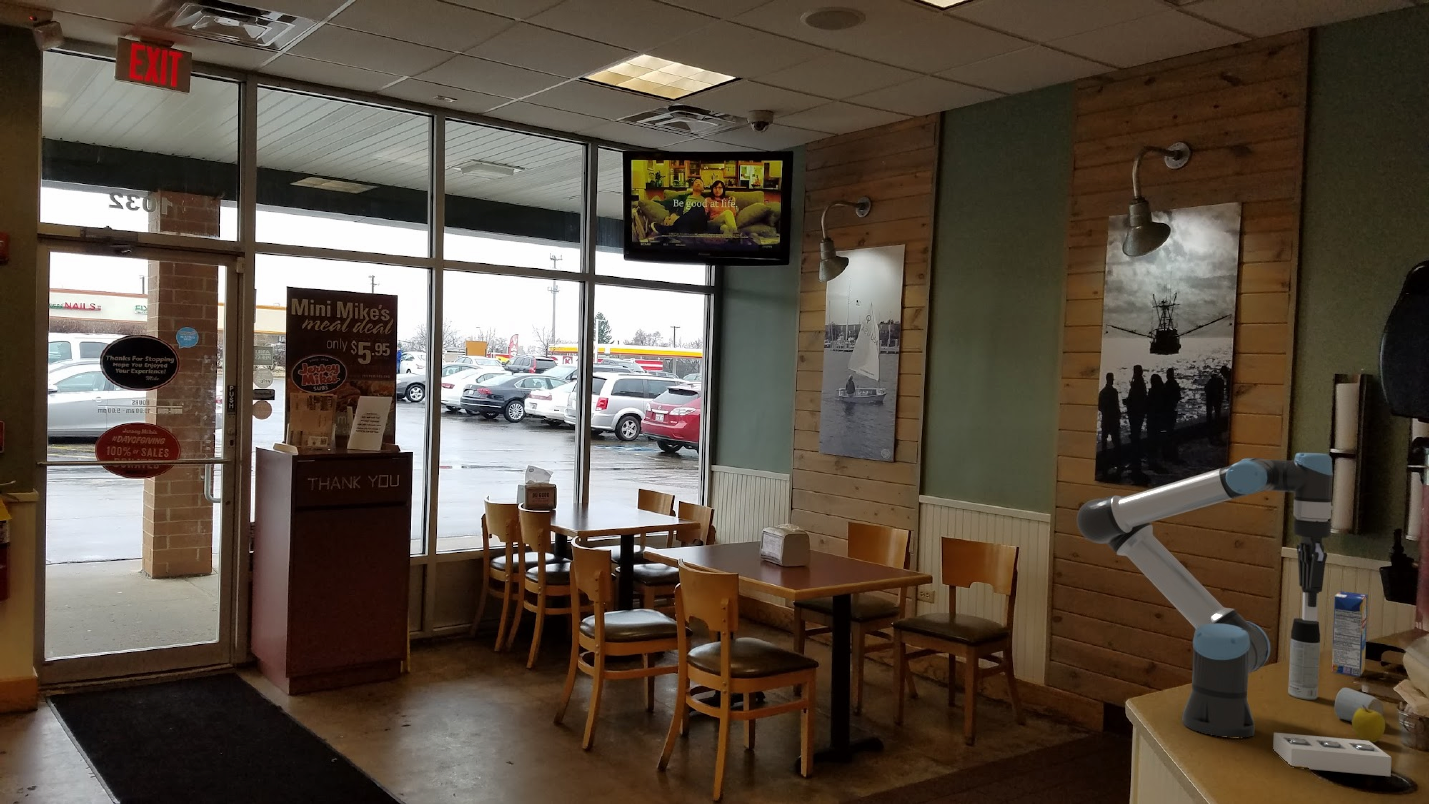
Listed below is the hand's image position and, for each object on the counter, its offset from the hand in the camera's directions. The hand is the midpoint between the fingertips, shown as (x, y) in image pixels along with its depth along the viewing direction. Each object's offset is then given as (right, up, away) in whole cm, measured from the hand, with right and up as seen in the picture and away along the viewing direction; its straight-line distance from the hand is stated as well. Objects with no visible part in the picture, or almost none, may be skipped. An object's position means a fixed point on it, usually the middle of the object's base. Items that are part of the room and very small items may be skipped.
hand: (1309, 619), depth 232 cm
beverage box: (+45, -27, +56) cm, 77 cm away
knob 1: (-14, -26, -18) cm, 35 cm away
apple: (+11, -27, -5) cm, 29 cm away
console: (-7, -26, -20) cm, 34 cm away
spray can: (+16, -27, +29) cm, 42 cm away
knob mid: (-7, -26, -20) cm, 33 cm away
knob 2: (-1, -26, -21) cm, 34 cm away
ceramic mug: (+18, -27, +9) cm, 34 cm away
